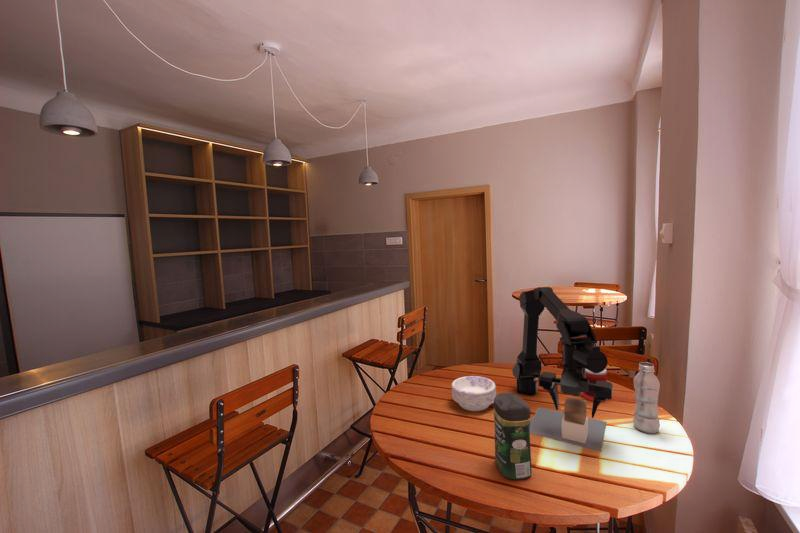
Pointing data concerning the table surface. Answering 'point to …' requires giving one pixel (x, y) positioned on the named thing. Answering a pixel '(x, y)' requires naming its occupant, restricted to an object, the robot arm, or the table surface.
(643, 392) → the plastic bottle
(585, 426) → the cream block
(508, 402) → the coffee jar
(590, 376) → the canned food
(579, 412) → the walnut block
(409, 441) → the table surface
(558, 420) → the build mat
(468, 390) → the paper bowls
